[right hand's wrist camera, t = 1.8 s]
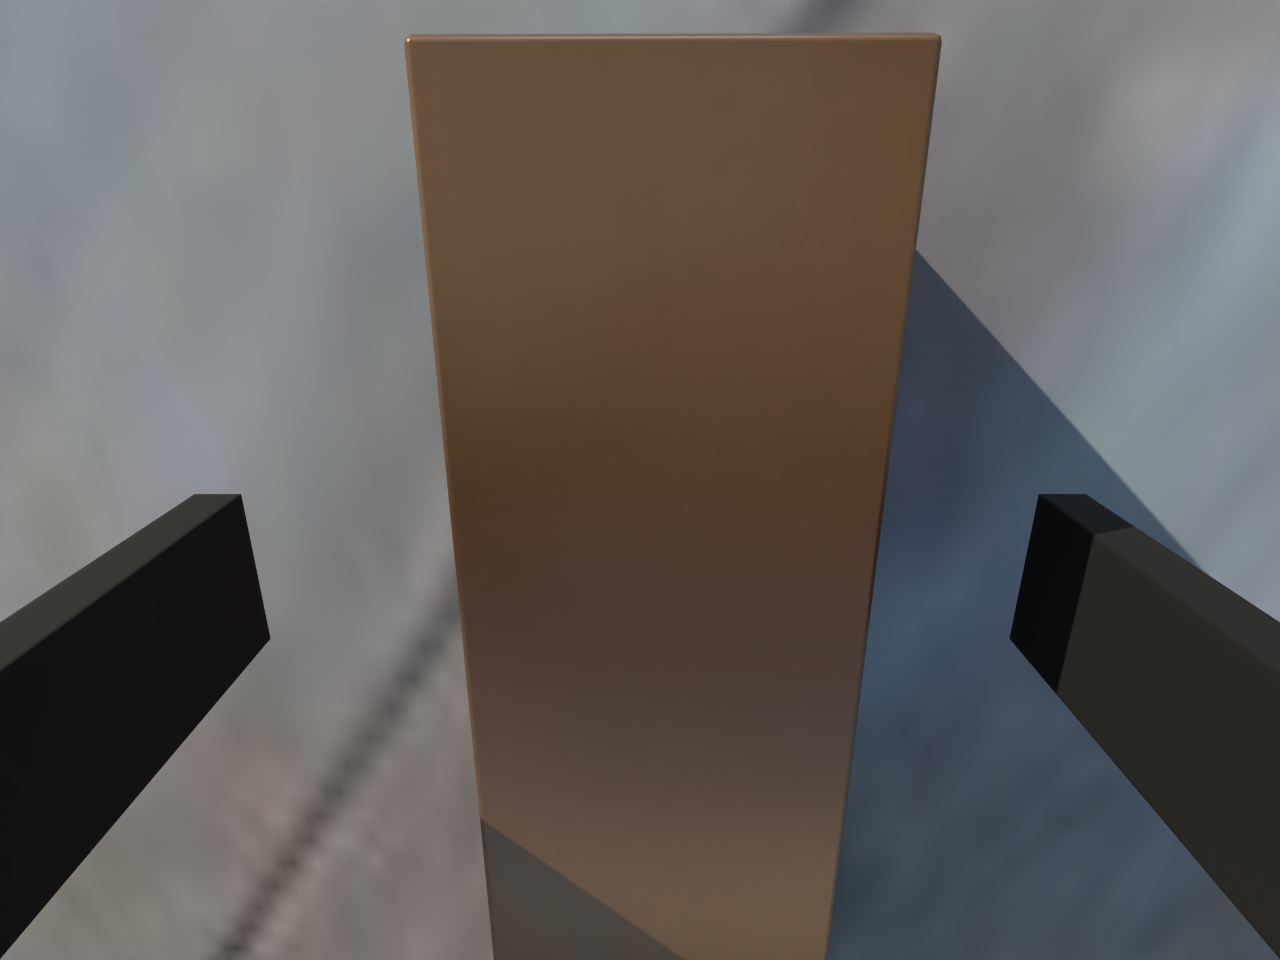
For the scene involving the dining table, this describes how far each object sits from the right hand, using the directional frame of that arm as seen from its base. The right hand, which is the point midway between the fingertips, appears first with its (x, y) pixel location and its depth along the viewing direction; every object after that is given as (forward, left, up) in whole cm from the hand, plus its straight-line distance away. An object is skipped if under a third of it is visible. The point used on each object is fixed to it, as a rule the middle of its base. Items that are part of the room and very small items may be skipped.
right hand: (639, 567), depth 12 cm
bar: (-4, +34, -5) cm, 35 cm away
